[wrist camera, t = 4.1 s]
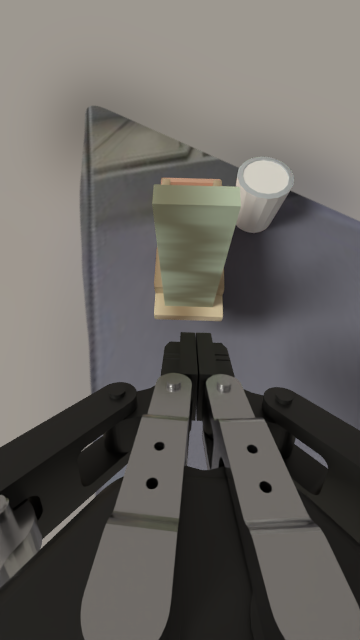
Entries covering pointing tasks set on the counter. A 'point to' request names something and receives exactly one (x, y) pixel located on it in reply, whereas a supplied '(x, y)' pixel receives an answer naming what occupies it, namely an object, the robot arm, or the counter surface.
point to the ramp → (192, 248)
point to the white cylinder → (261, 192)
